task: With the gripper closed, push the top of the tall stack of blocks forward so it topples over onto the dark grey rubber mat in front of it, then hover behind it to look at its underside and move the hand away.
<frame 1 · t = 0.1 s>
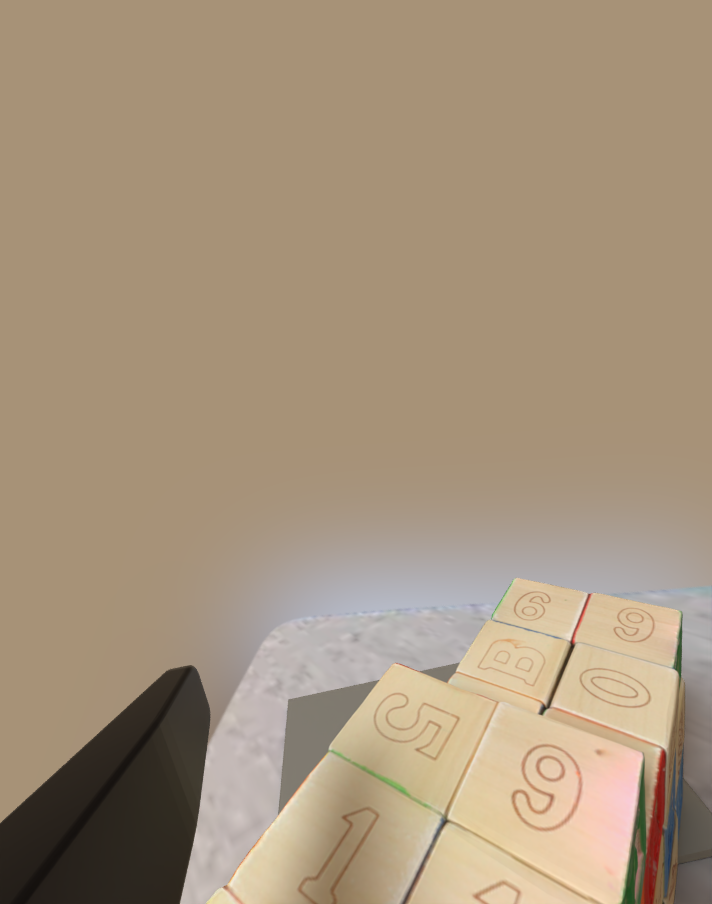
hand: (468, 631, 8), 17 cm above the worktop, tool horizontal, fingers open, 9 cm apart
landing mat: (458, 760, 23), on the worktop
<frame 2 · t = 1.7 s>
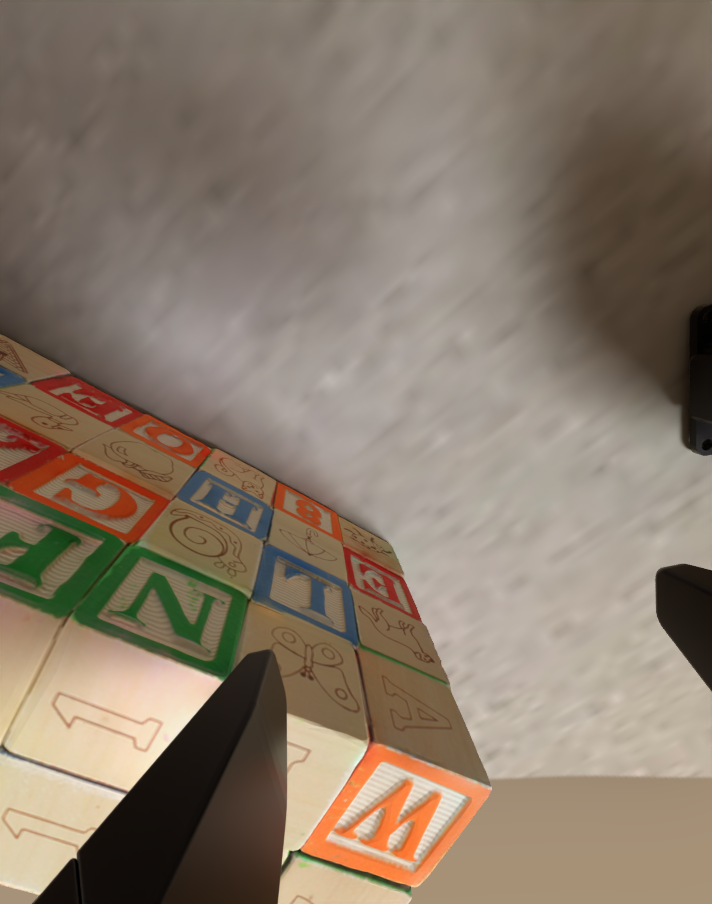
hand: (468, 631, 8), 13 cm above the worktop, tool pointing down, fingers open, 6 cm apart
stack of blocks: (150, 489, 20), on the worktop, touching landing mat
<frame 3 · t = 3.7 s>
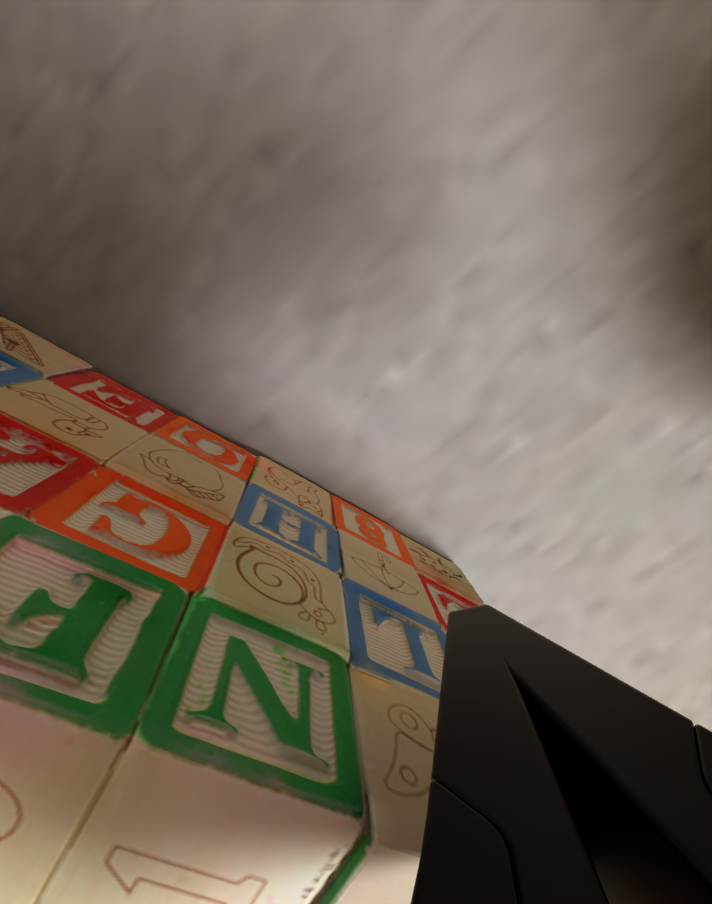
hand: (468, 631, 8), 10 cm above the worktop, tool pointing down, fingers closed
stack of blocks: (182, 503, 17), on the worktop, touching gripper, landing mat
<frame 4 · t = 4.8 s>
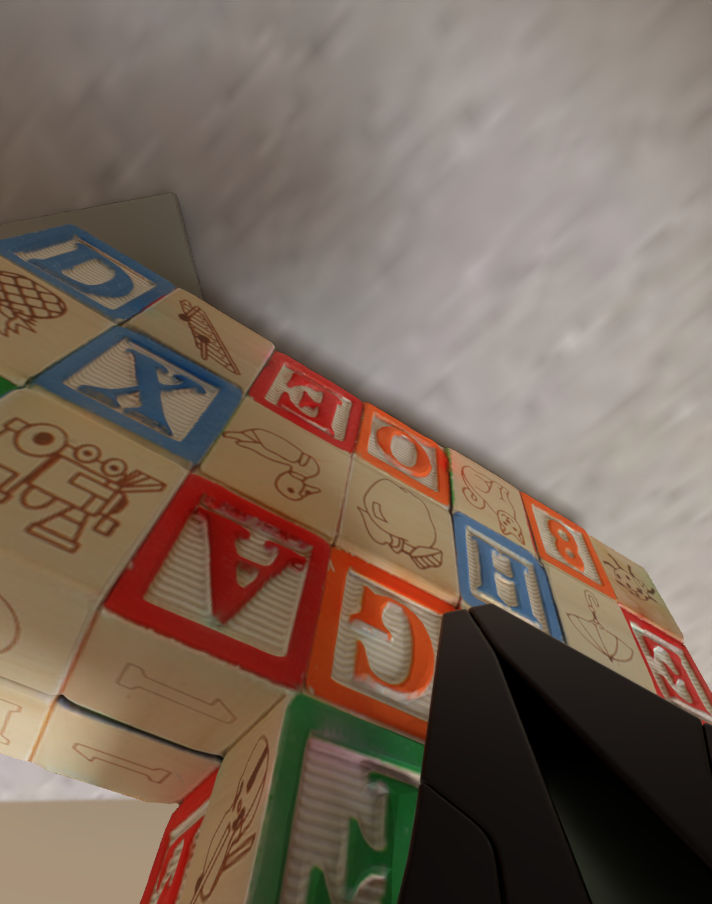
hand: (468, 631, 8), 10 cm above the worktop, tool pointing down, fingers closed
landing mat: (84, 493, 17), on the worktop
stack of blocks: (356, 480, 16), point 1 cm above the worktop, touching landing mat
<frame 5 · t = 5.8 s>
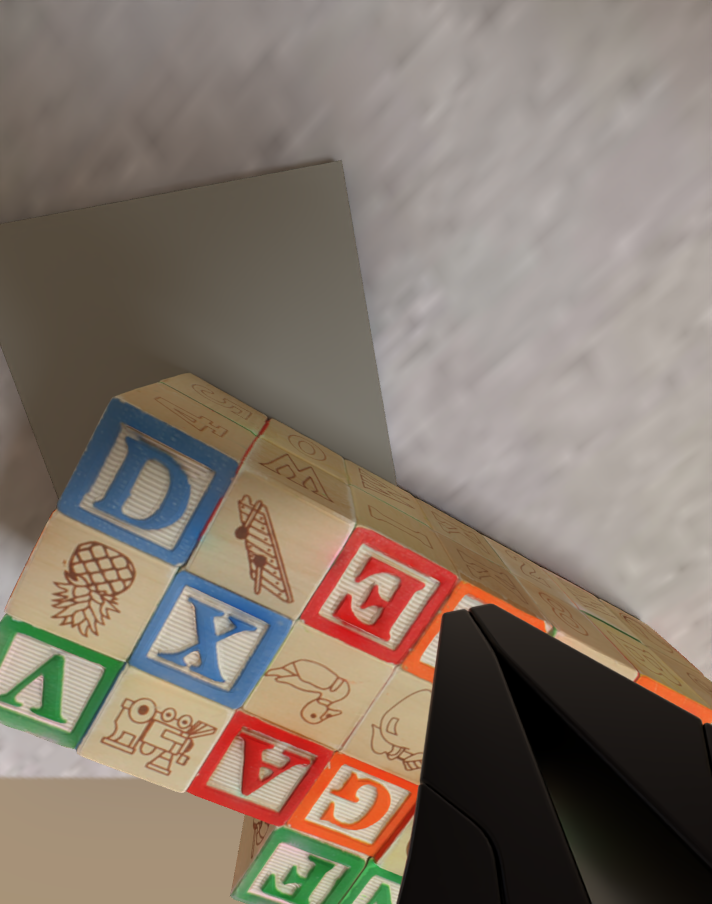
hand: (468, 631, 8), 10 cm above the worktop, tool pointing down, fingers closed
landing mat: (227, 466, 17), on the worktop
stack of blocks: (477, 542, 15), point 3 cm above the worktop, touching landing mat
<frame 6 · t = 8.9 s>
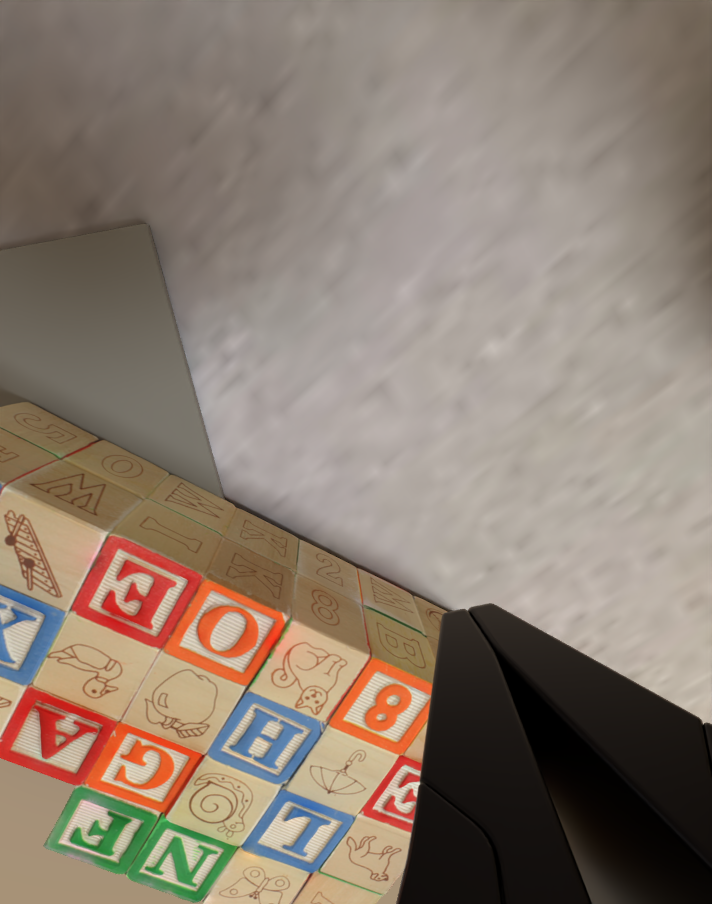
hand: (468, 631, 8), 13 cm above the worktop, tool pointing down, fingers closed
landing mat: (71, 481, 20), on the worktop
stack of blocks: (264, 547, 17), point 3 cm above the worktop, touching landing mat
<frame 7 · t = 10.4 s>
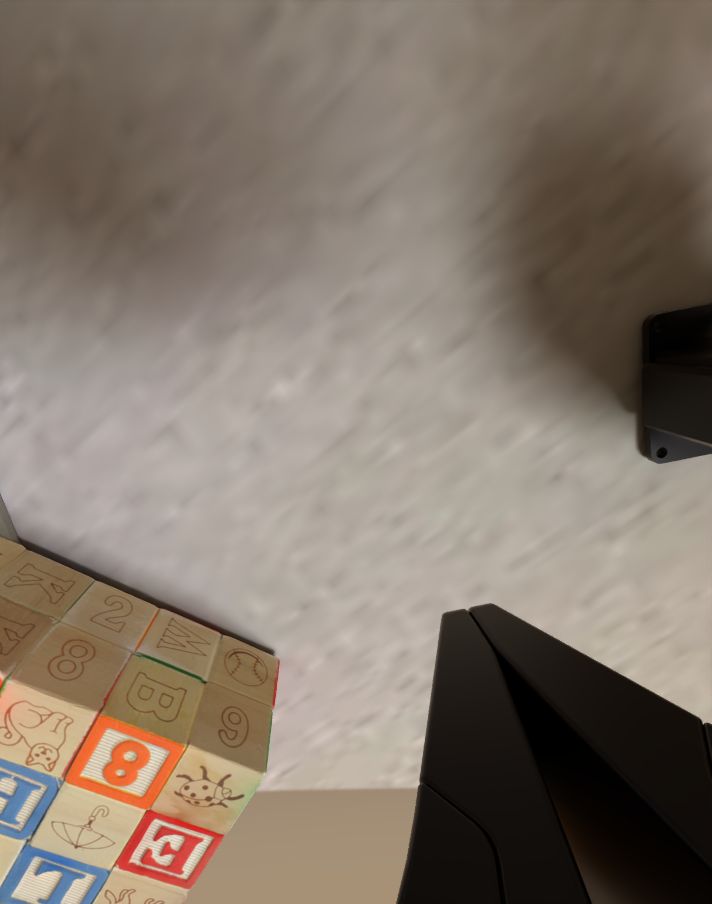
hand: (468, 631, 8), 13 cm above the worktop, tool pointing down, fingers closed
stack of blocks: (23, 596, 17), point 3 cm above the worktop, touching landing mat
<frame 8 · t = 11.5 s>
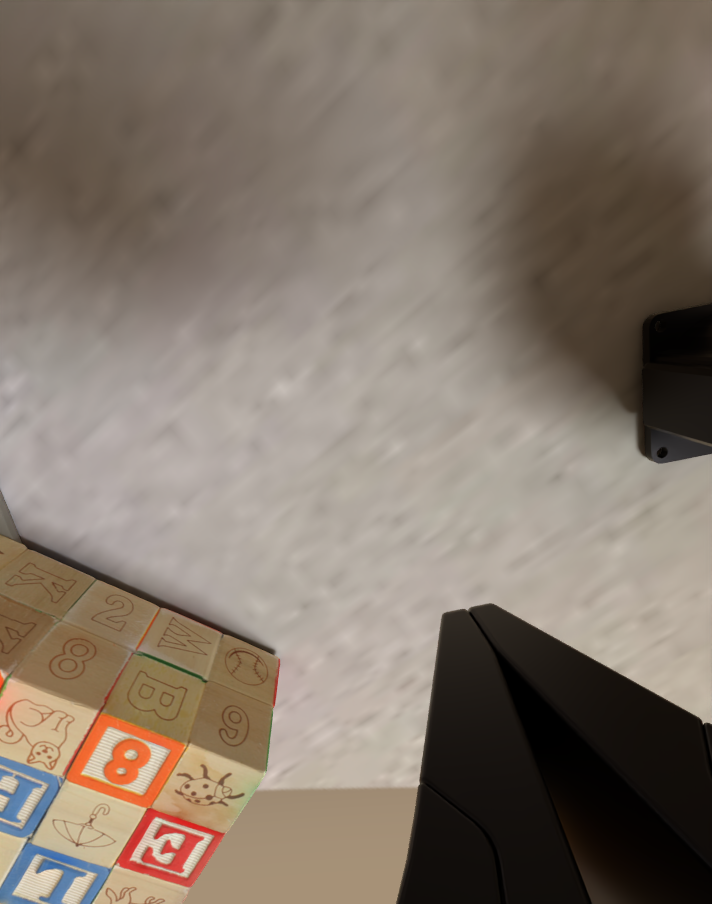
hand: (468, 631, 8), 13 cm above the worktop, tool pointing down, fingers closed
stack of blocks: (24, 595, 17), point 3 cm above the worktop, touching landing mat
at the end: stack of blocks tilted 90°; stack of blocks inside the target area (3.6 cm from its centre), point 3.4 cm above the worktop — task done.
